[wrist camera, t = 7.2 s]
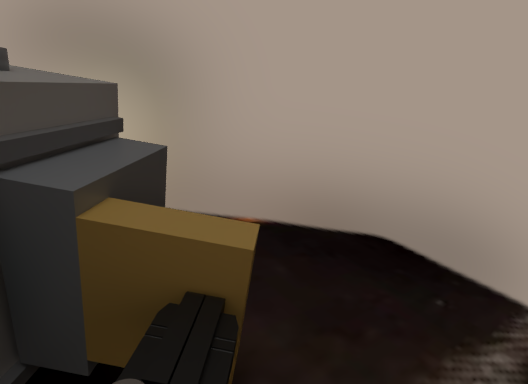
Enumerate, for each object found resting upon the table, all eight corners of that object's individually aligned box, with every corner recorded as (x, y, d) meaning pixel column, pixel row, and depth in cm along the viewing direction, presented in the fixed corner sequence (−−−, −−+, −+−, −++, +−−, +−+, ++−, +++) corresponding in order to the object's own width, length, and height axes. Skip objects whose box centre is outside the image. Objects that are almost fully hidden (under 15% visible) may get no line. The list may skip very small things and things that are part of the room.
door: (20, 362, 13) (-17, 175, 10) (118, 262, 21) (115, 137, 17) (228, 404, 13) (258, 224, 10) (251, 287, 20) (272, 164, 17)
